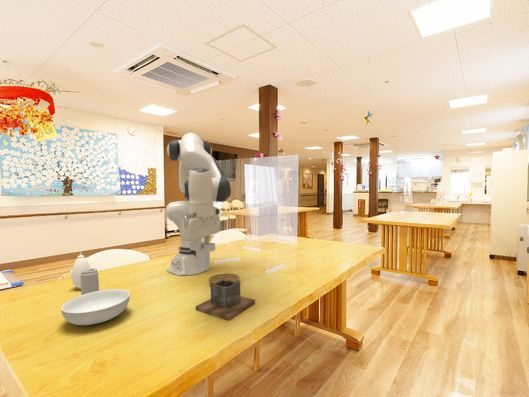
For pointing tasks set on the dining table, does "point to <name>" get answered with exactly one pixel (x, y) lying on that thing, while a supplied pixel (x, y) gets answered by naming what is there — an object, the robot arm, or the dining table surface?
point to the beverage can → (89, 281)
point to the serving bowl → (95, 306)
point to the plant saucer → (223, 276)
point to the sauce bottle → (79, 270)
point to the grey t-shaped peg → (203, 255)
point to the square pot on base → (225, 300)
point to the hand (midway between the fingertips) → (202, 248)
